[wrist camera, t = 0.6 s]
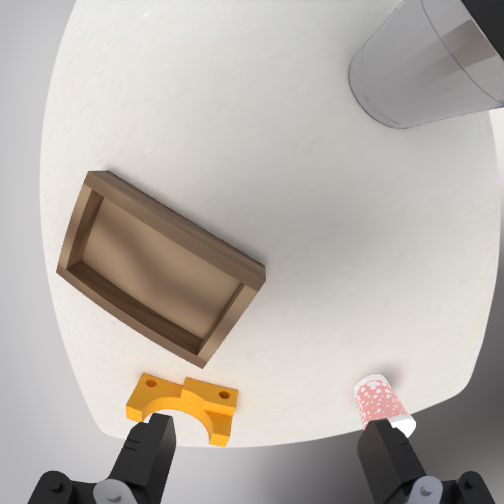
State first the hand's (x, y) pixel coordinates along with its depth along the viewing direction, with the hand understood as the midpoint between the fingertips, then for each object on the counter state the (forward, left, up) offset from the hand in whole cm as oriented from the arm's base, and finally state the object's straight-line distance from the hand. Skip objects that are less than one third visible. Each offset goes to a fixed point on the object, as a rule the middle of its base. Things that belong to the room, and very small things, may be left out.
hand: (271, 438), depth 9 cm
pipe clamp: (+18, 0, -18) cm, 26 cm away
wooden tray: (+5, -10, -18) cm, 21 cm away
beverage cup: (+6, +20, -18) cm, 28 cm away
